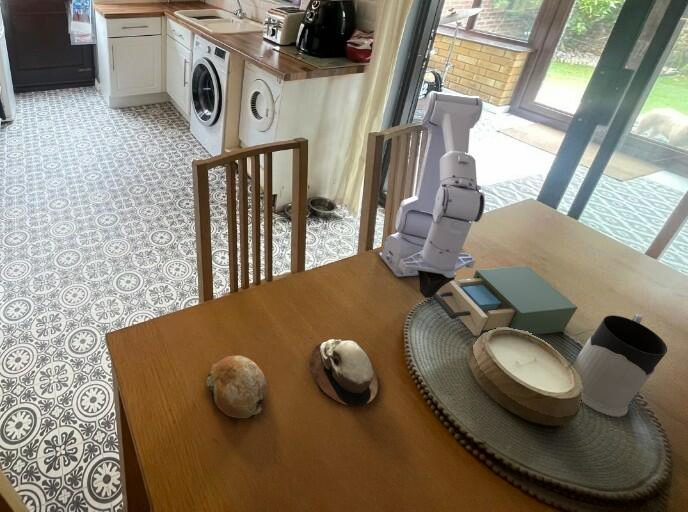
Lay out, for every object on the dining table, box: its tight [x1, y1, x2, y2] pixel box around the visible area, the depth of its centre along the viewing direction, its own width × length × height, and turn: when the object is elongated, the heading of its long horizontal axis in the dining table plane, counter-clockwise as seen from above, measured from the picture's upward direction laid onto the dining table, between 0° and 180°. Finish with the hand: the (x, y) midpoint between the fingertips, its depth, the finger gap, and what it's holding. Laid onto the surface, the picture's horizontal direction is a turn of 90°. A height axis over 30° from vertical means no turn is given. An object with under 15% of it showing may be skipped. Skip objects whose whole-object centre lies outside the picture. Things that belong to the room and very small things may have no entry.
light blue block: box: [462, 285, 501, 314], centre depth 87 cm, size 5×5×4 cm
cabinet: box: [472, 265, 579, 336], centre depth 88 cm, size 13×12×7 cm
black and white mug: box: [571, 313, 668, 417], centre depth 72 cm, size 9×14×15 cm, turn 126°
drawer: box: [432, 278, 517, 336], centre depth 87 cm, size 16×10×5 cm, turn 97°
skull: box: [309, 338, 379, 407], centre depth 76 cm, size 12×10×10 cm
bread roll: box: [206, 355, 268, 419], centre depth 73 cm, size 10×10×8 cm
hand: (425, 294), depth 84 cm, fingers closed
